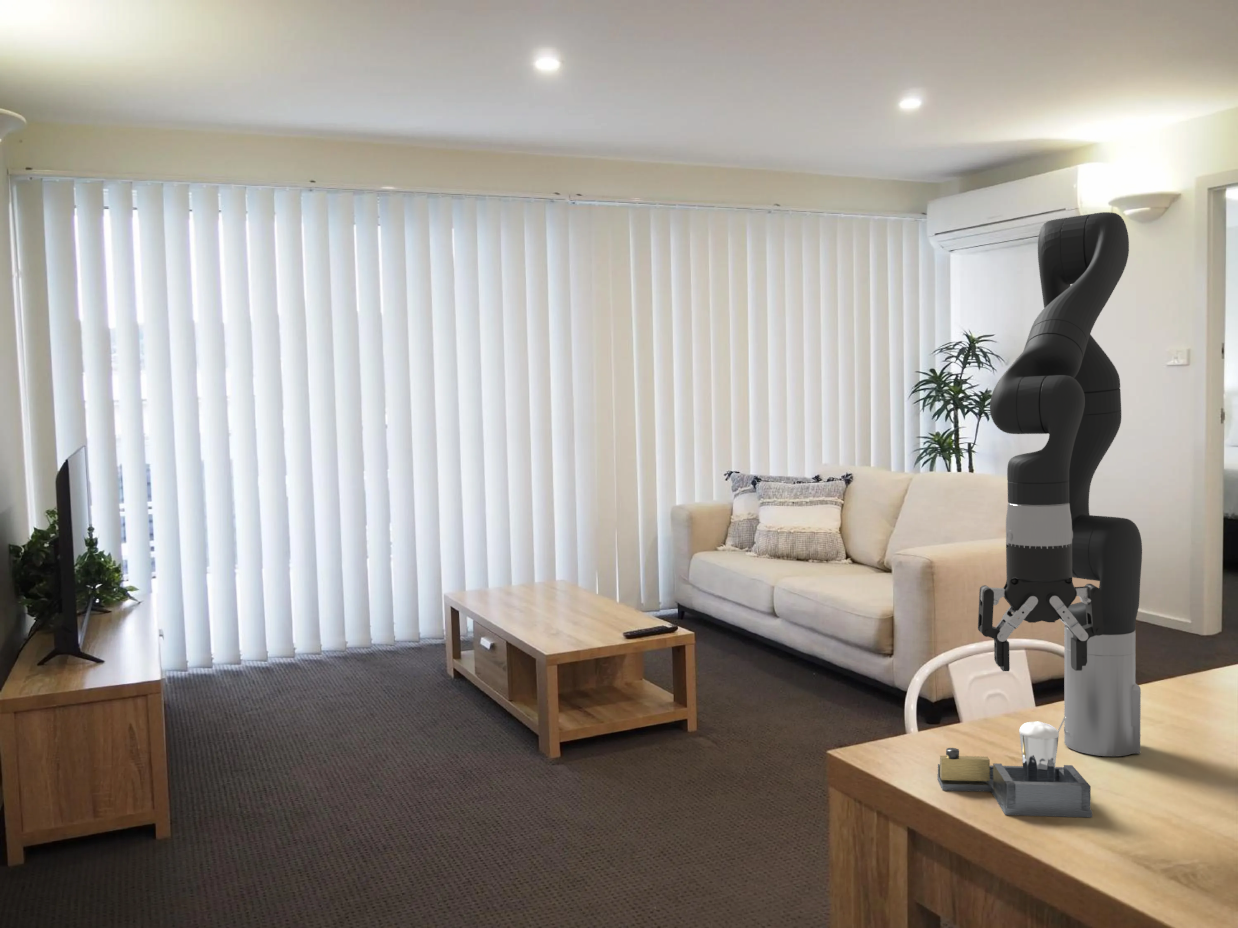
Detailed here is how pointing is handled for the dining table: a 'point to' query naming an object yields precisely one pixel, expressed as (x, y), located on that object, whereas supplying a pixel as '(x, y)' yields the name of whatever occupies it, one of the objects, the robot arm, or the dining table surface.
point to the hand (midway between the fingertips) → (1040, 669)
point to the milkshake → (1039, 751)
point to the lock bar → (964, 767)
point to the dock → (1032, 792)
